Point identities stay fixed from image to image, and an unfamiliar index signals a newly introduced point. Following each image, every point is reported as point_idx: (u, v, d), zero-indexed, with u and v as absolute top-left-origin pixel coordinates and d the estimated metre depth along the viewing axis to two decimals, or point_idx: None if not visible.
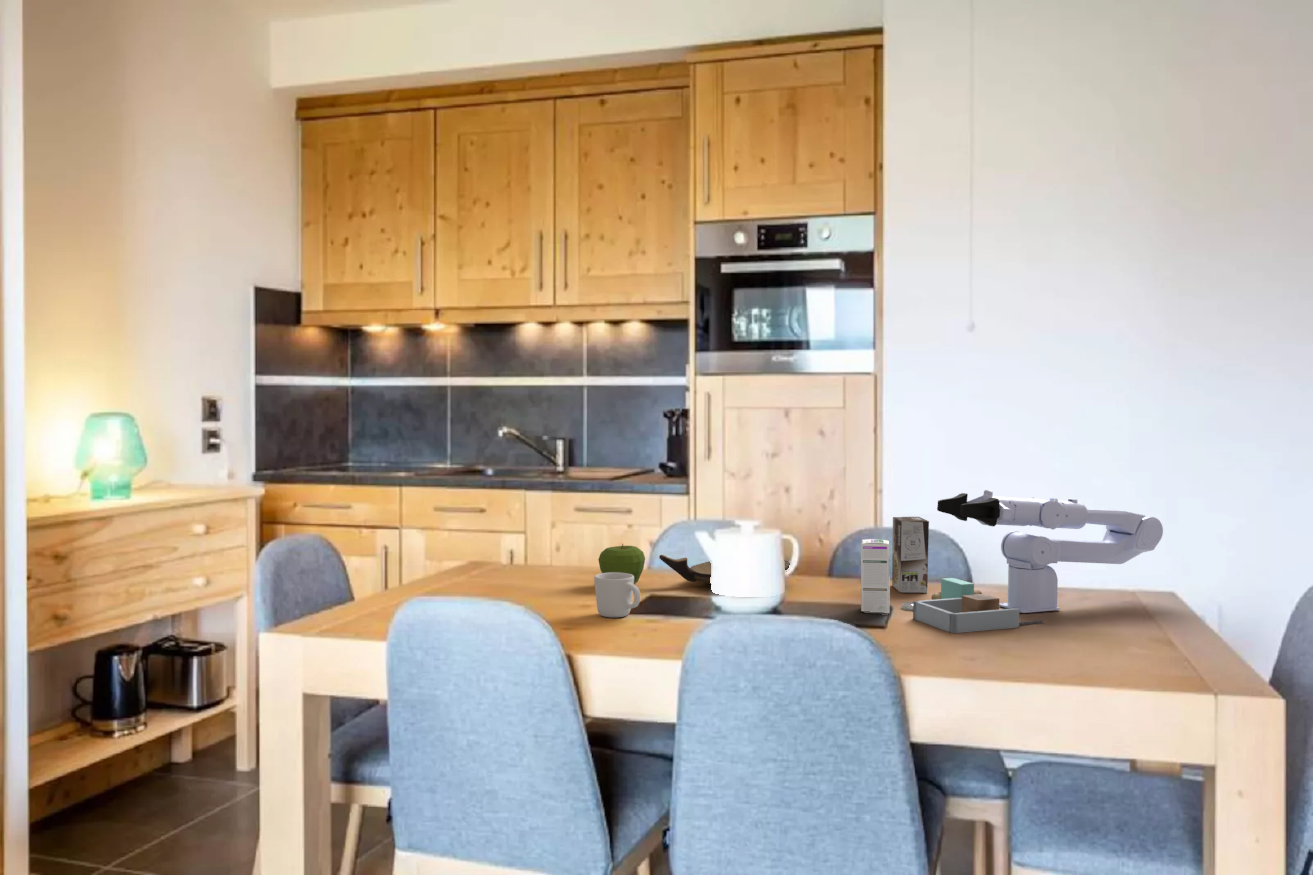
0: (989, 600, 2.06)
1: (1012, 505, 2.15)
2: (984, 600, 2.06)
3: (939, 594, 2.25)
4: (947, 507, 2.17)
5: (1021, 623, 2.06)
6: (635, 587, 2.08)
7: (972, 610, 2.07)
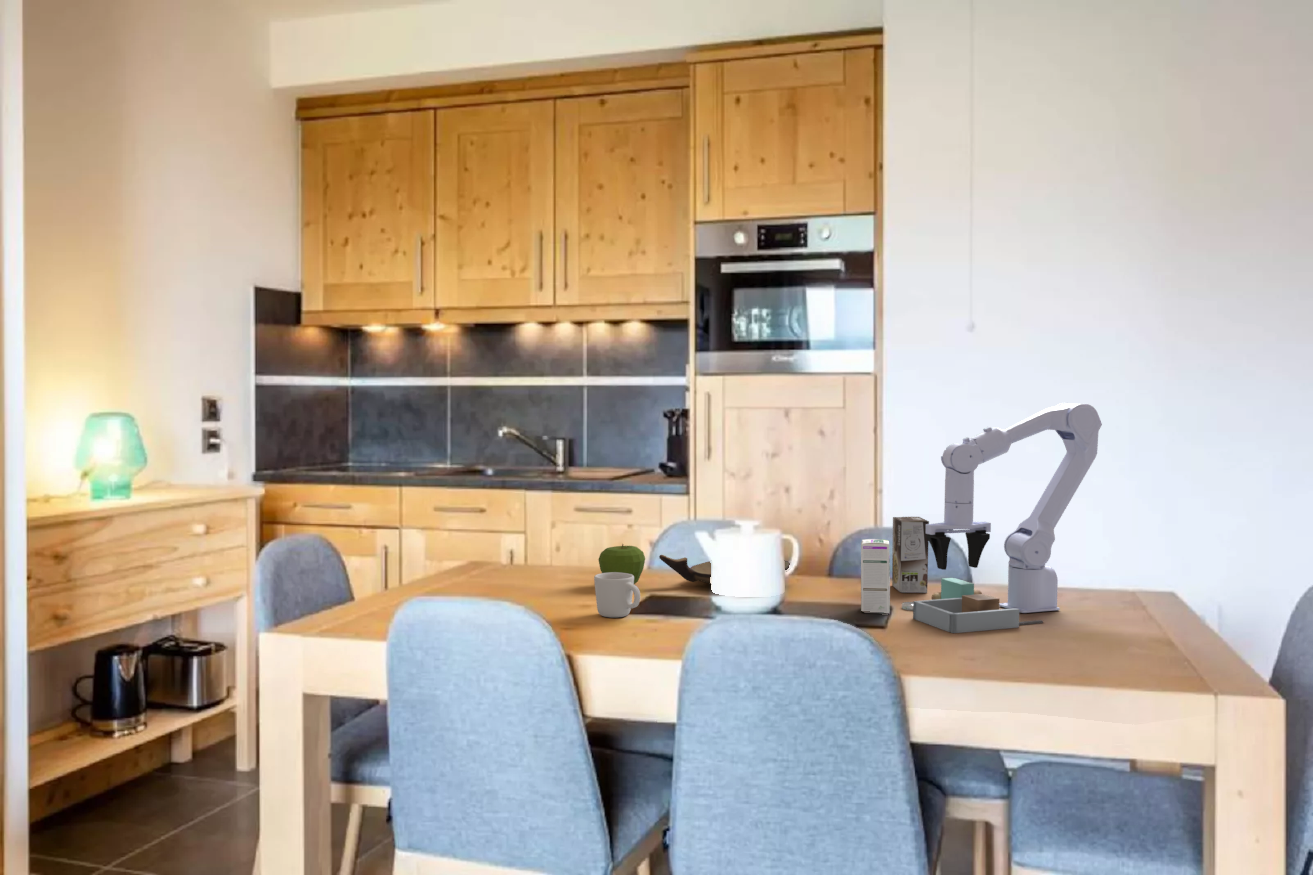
0: (989, 600, 2.06)
1: None
2: (984, 600, 2.06)
3: (939, 594, 2.25)
4: (973, 557, 2.20)
5: (1021, 623, 2.06)
6: (635, 587, 2.08)
7: (972, 610, 2.07)
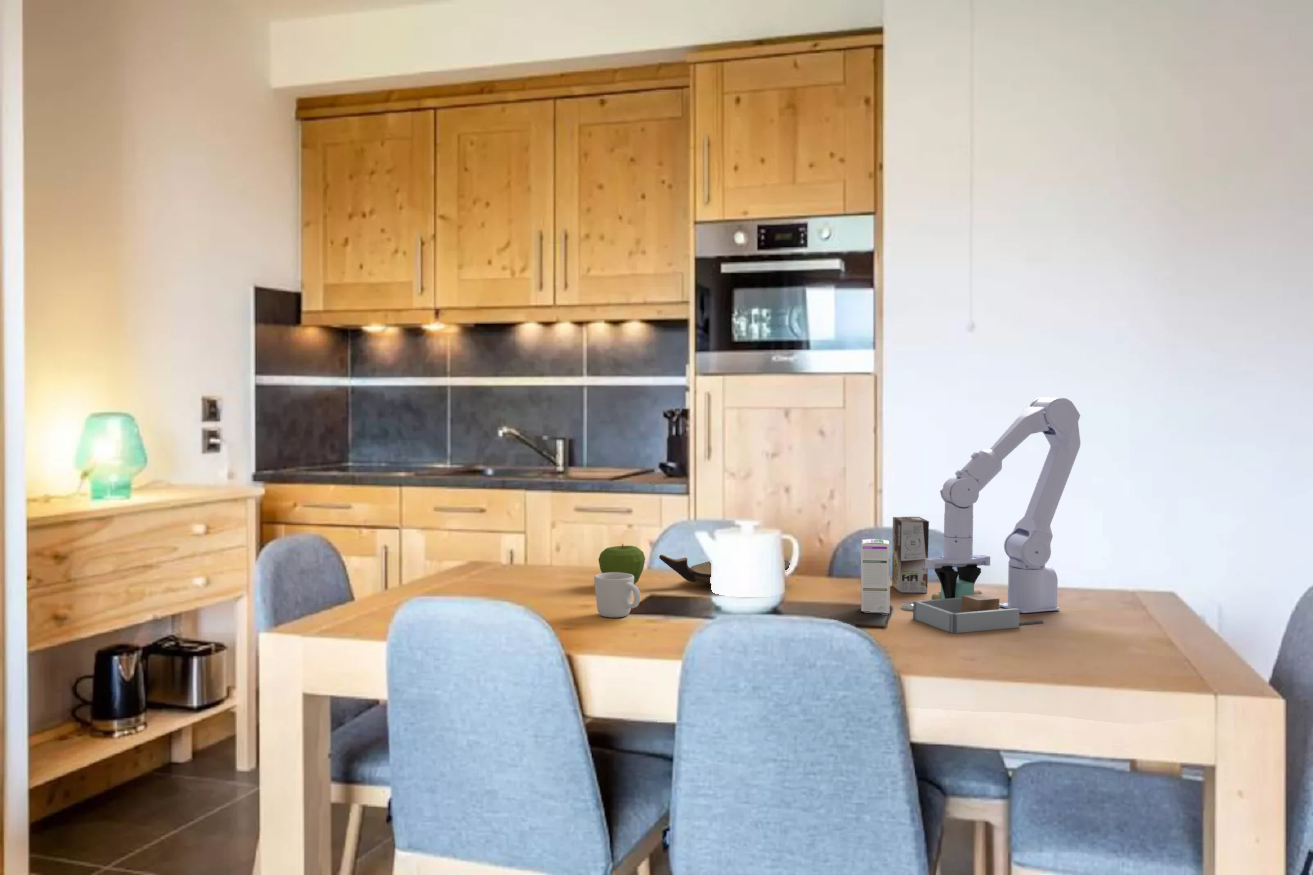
0: (989, 600, 2.06)
1: (944, 538, 2.19)
2: (984, 600, 2.06)
3: (939, 594, 2.25)
4: None
5: (1021, 623, 2.06)
6: (635, 587, 2.08)
7: (972, 610, 2.07)
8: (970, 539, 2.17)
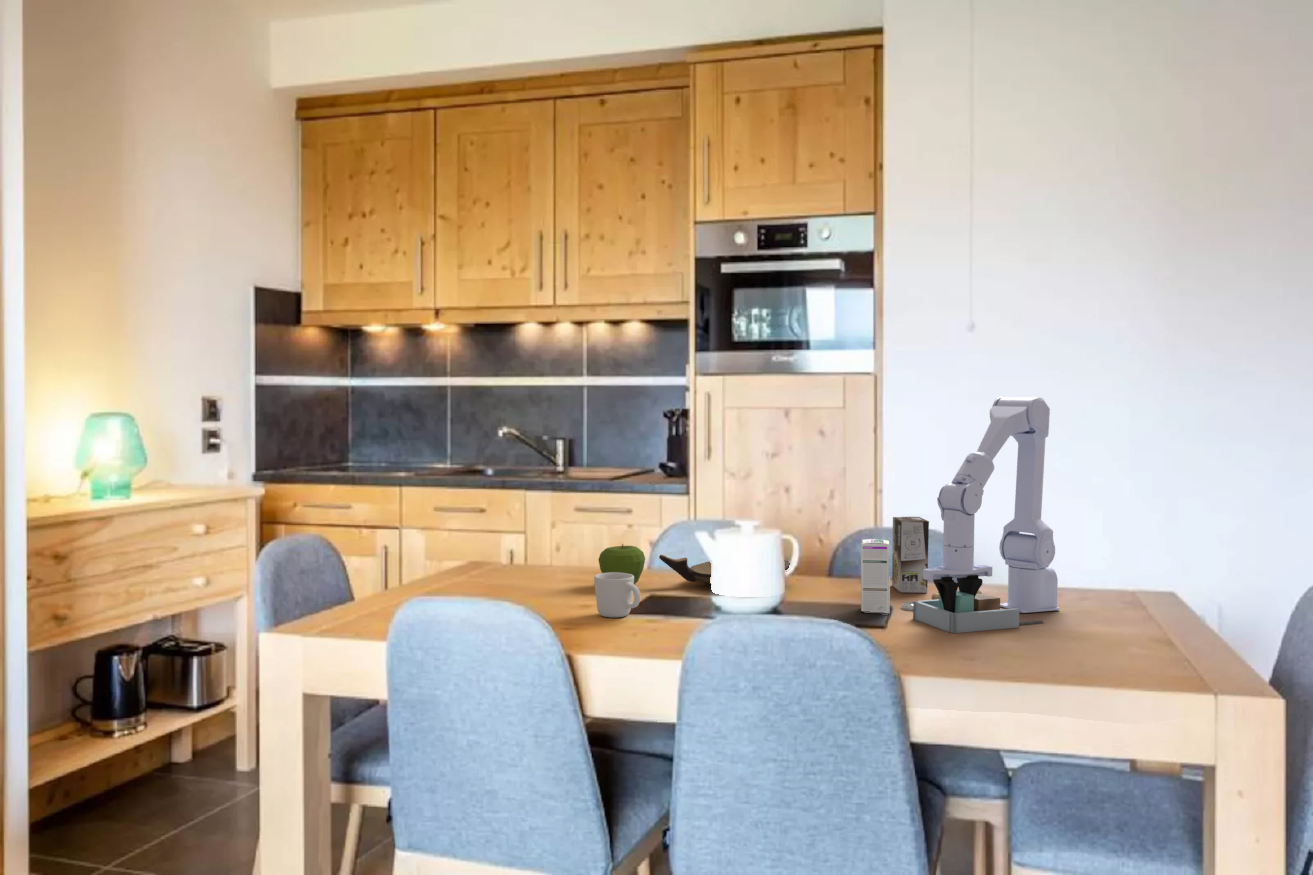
0: (990, 599, 2.06)
1: (943, 547, 2.06)
2: (985, 599, 2.06)
3: None
4: None
5: (1021, 623, 2.06)
6: (635, 587, 2.08)
7: None
8: (971, 548, 2.04)
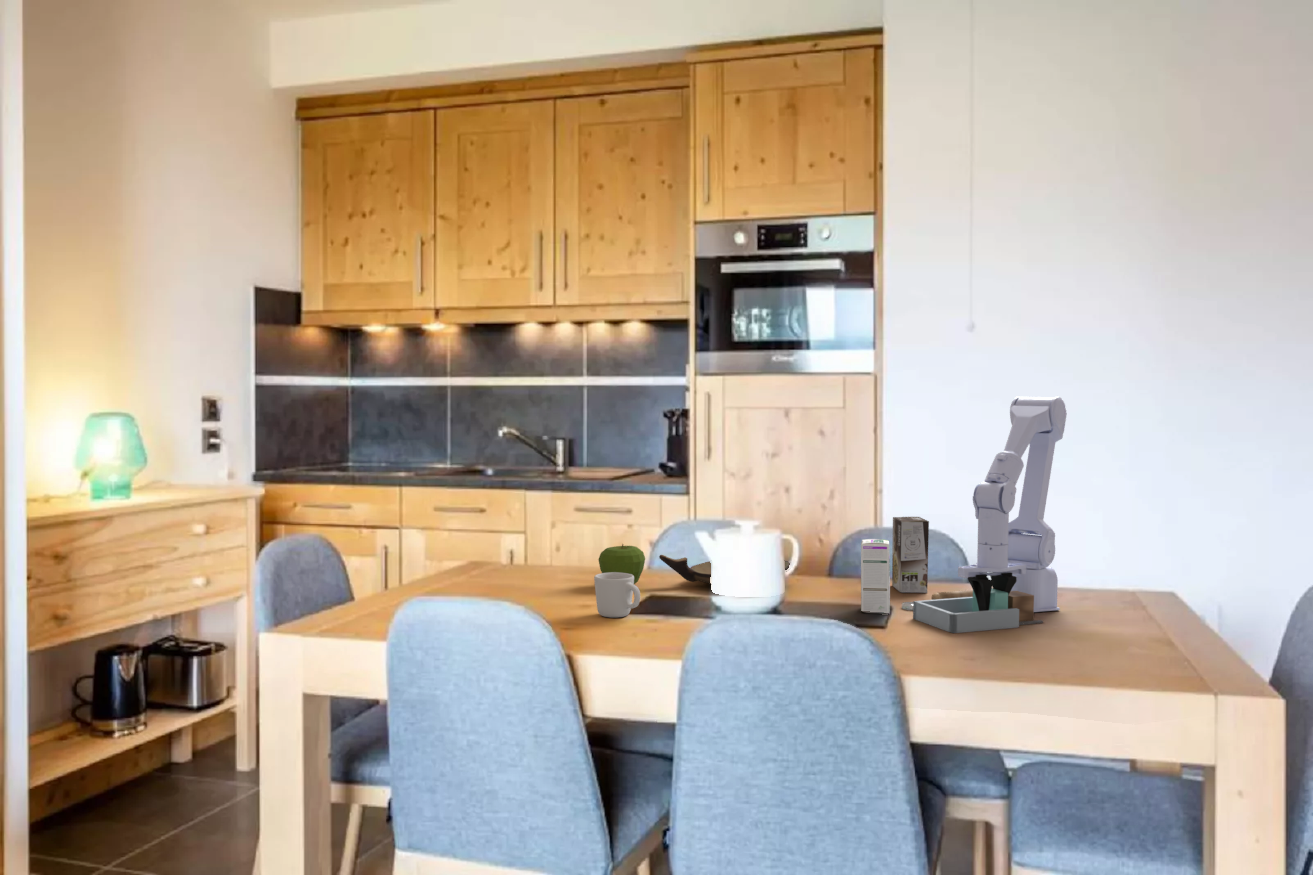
0: (1024, 597, 2.09)
1: None
2: (1019, 597, 2.08)
3: (939, 594, 2.25)
4: None
5: (1021, 623, 2.06)
6: (635, 587, 2.08)
7: None
8: (1005, 546, 2.06)
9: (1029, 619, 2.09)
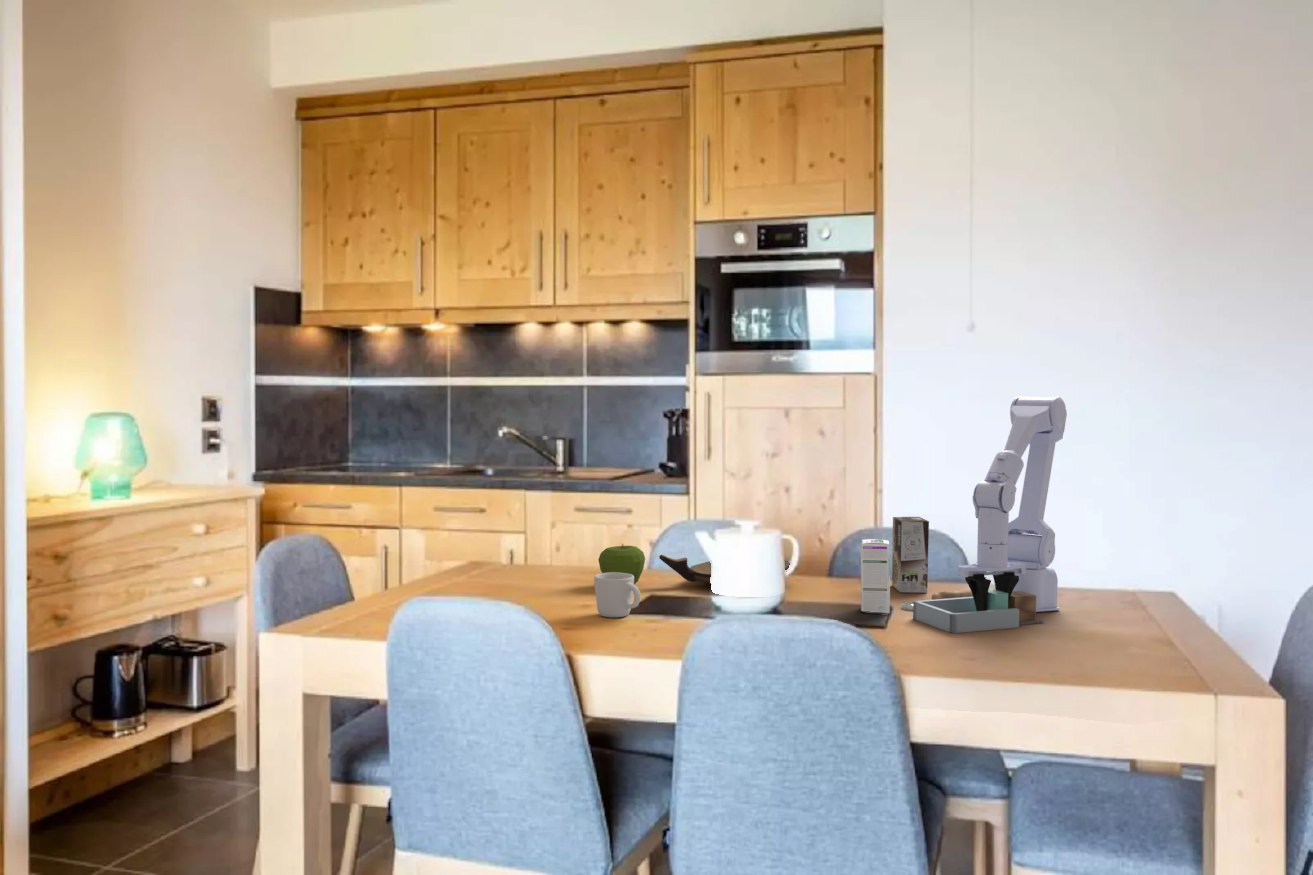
0: (1026, 597, 2.09)
1: None
2: (1021, 597, 2.09)
3: (939, 594, 2.25)
4: None
5: (1021, 623, 2.06)
6: (635, 587, 2.08)
7: (1009, 607, 2.10)
8: (1005, 546, 2.06)
9: (1031, 619, 2.10)
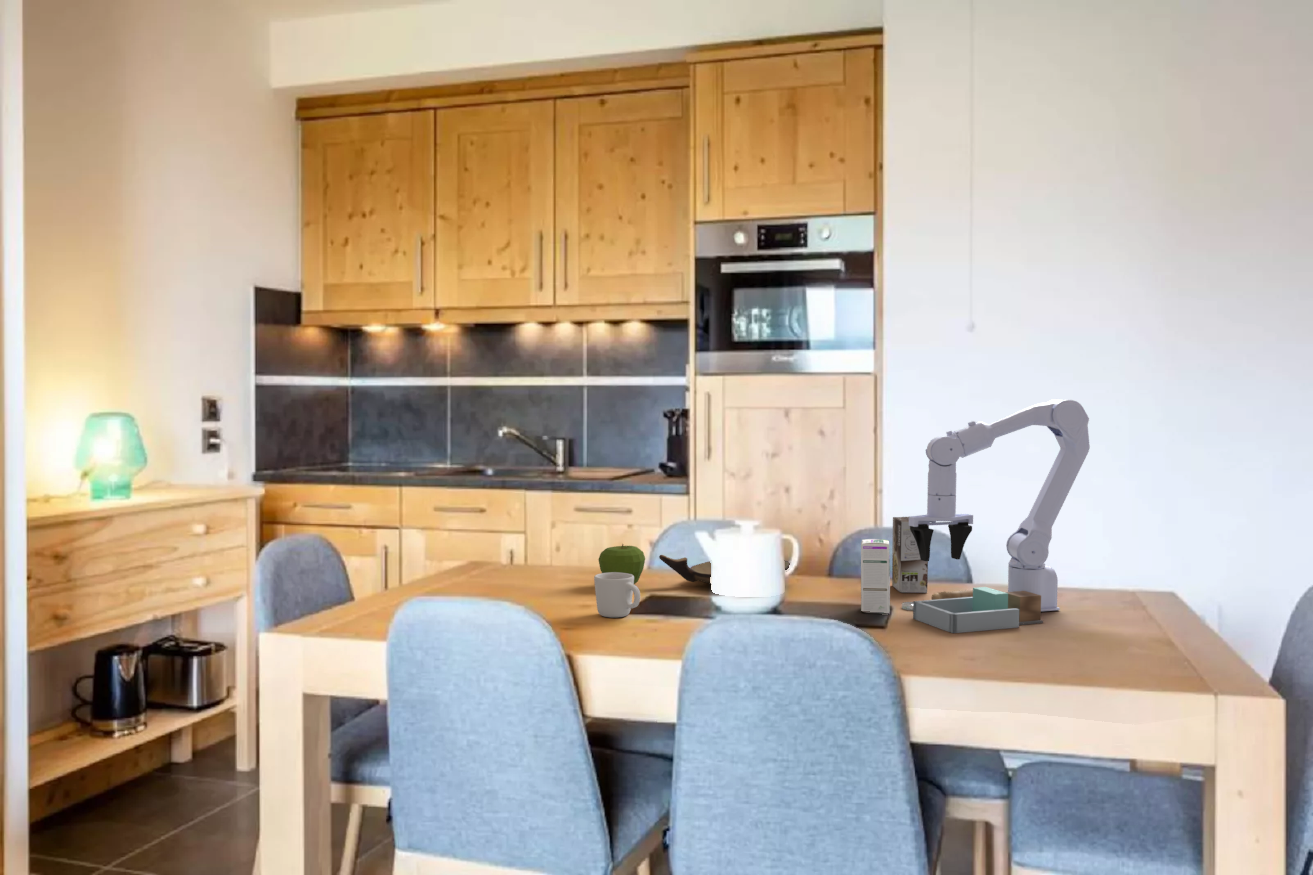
0: (1031, 597, 2.09)
1: None
2: (1026, 597, 2.09)
3: (939, 594, 2.25)
4: (955, 549, 2.22)
5: (1021, 623, 2.06)
6: (635, 587, 2.08)
7: (1014, 607, 2.10)
8: (953, 497, 2.19)
9: (1036, 619, 2.10)
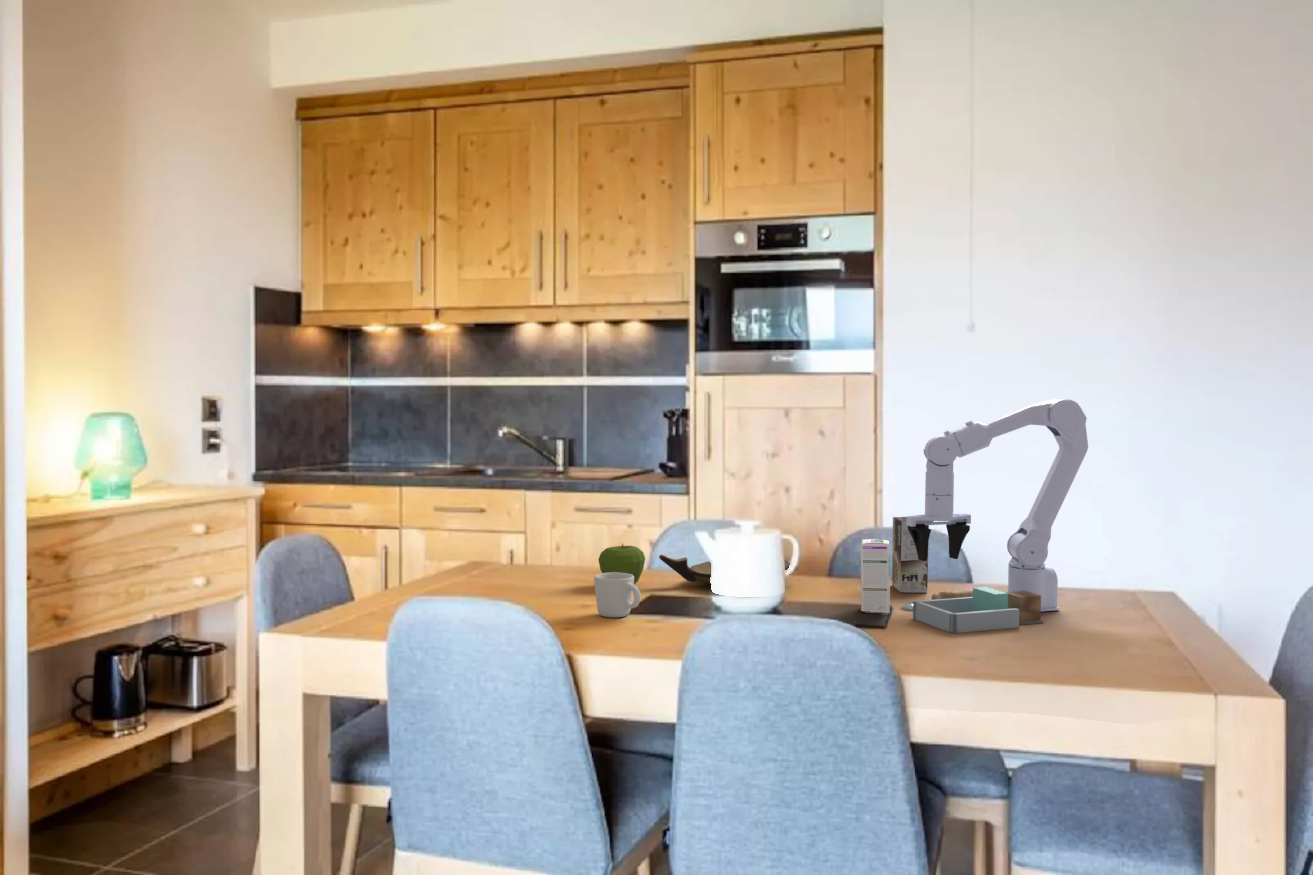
0: (1031, 597, 2.09)
1: (925, 496, 2.22)
2: (1026, 597, 2.09)
3: (939, 594, 2.25)
4: (953, 549, 2.23)
5: (1021, 623, 2.06)
6: (635, 587, 2.08)
7: (1014, 607, 2.10)
8: (951, 497, 2.19)
9: (1036, 619, 2.10)
